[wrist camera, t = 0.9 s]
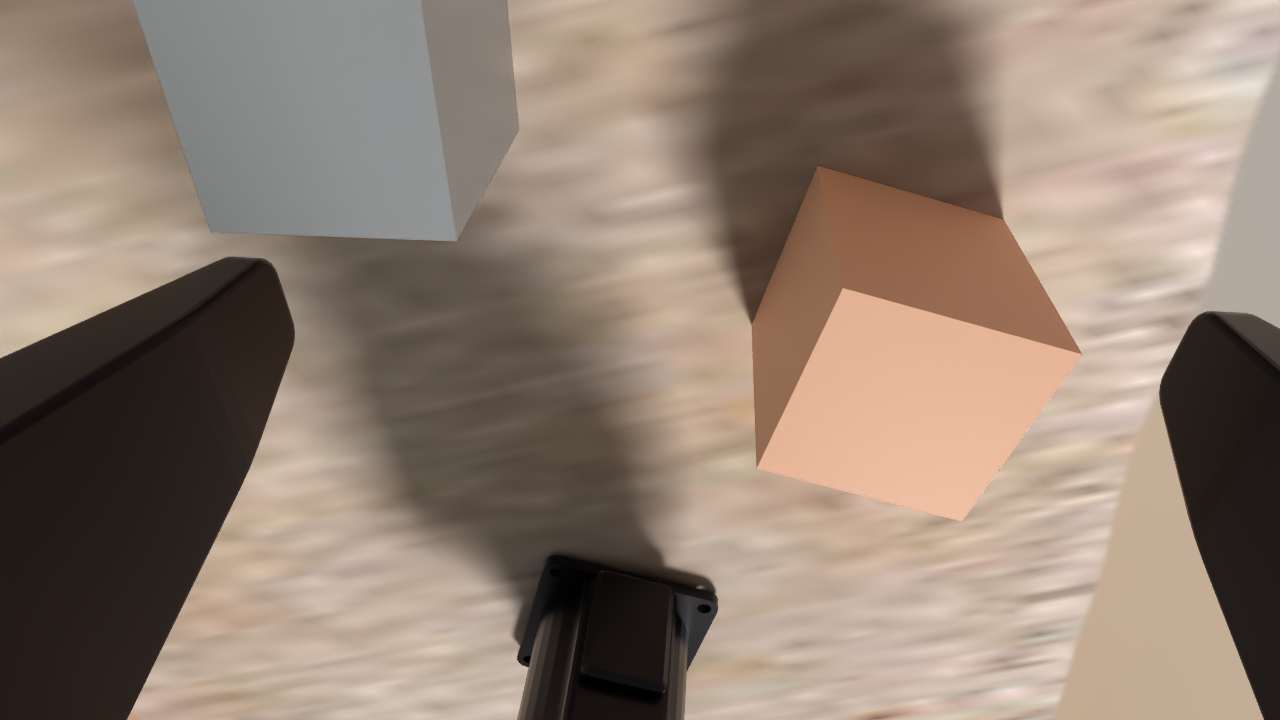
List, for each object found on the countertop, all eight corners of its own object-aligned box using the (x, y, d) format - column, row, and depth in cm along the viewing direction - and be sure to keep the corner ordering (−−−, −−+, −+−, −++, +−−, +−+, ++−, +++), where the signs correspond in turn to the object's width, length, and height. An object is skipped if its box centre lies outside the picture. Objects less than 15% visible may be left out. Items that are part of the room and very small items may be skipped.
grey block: (519, 129, 21) (456, 241, 16) (327, 124, 22) (210, 232, 17) (498, -94, 18) (414, -39, 13) (277, -96, 19) (117, -42, 14)
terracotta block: (915, 368, 24) (961, 521, 20) (751, 323, 24) (756, 468, 19) (1003, 218, 21) (1082, 354, 17) (817, 164, 21) (843, 287, 16)
